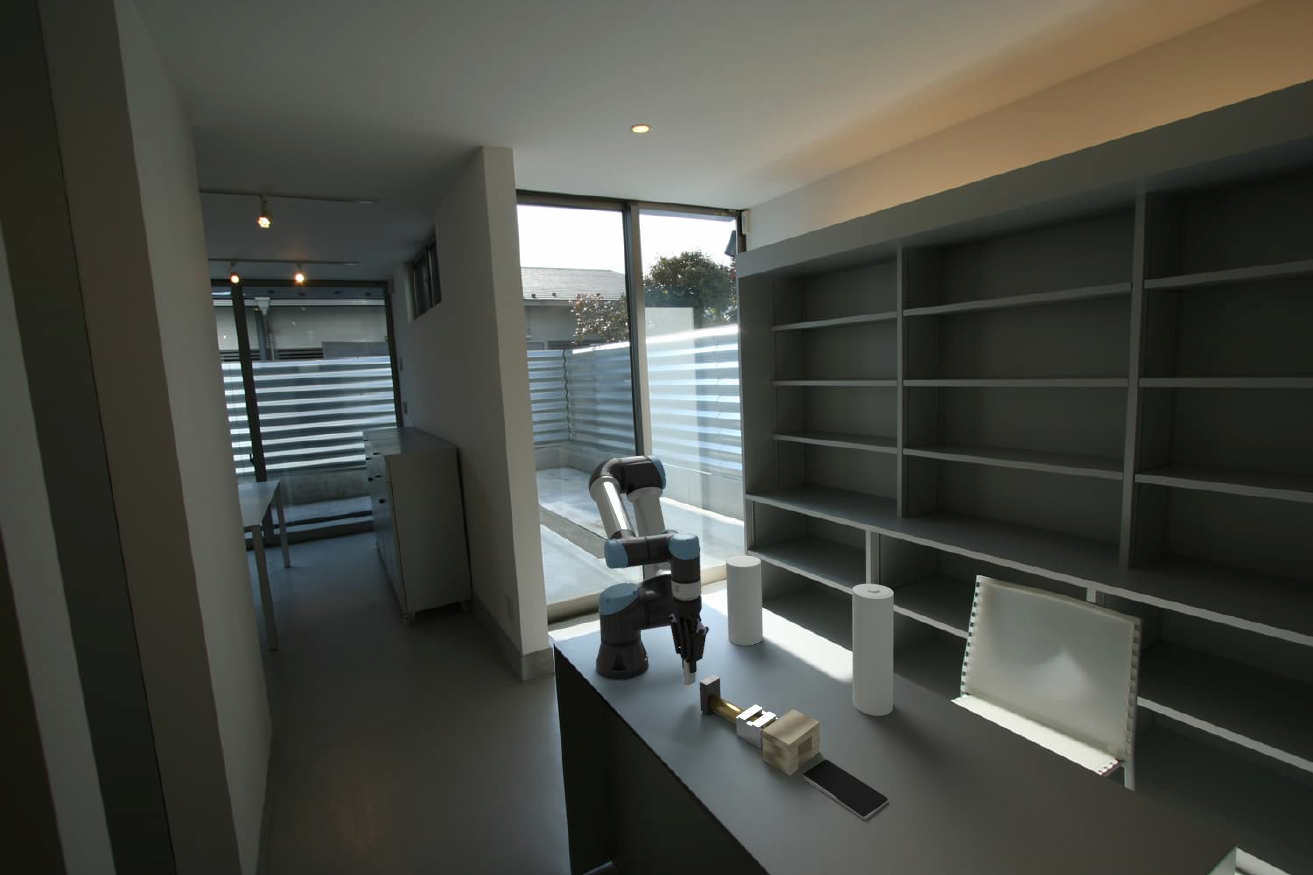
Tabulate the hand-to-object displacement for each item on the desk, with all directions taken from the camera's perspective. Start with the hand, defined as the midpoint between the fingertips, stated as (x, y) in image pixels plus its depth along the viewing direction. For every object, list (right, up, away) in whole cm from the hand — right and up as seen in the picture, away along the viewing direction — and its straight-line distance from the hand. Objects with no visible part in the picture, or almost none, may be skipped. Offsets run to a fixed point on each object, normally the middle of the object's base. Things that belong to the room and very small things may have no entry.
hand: (690, 682), depth 153 cm
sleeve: (+15, -6, -16) cm, 22 cm away
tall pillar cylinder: (+19, 0, +33) cm, 38 cm away
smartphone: (+29, -8, -33) cm, 45 cm away
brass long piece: (+10, -5, -11) cm, 16 cm away
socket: (+21, -7, -23) cm, 32 cm away
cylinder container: (+45, -3, -5) cm, 46 cm away
